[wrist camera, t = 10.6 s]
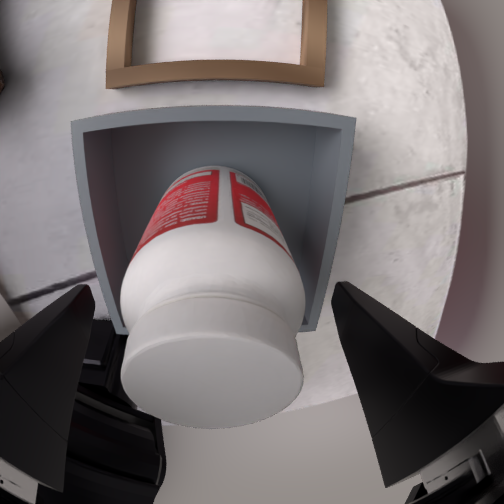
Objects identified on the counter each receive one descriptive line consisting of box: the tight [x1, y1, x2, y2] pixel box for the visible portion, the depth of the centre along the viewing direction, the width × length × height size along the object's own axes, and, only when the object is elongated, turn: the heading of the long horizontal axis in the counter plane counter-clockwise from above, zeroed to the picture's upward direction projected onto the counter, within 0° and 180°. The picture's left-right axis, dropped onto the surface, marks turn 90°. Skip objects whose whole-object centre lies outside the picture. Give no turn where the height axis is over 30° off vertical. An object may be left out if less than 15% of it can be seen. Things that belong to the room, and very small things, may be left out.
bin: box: [71, 105, 356, 335], centre depth 14 cm, size 12×12×4 cm
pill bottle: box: [120, 166, 305, 429], centre depth 11 cm, size 6×6×11 cm
